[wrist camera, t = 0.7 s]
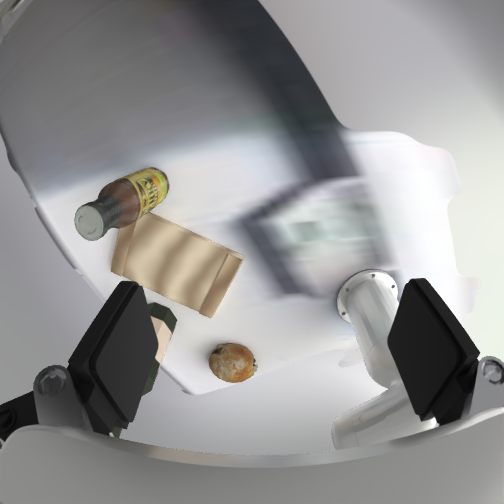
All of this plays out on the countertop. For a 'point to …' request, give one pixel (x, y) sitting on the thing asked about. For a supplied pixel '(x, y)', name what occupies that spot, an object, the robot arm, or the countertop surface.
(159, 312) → the wine bottle
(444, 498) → the robot arm
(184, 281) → the board
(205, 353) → the countertop surface
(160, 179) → the sauce bottle
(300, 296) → the countertop surface
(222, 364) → the bread roll
